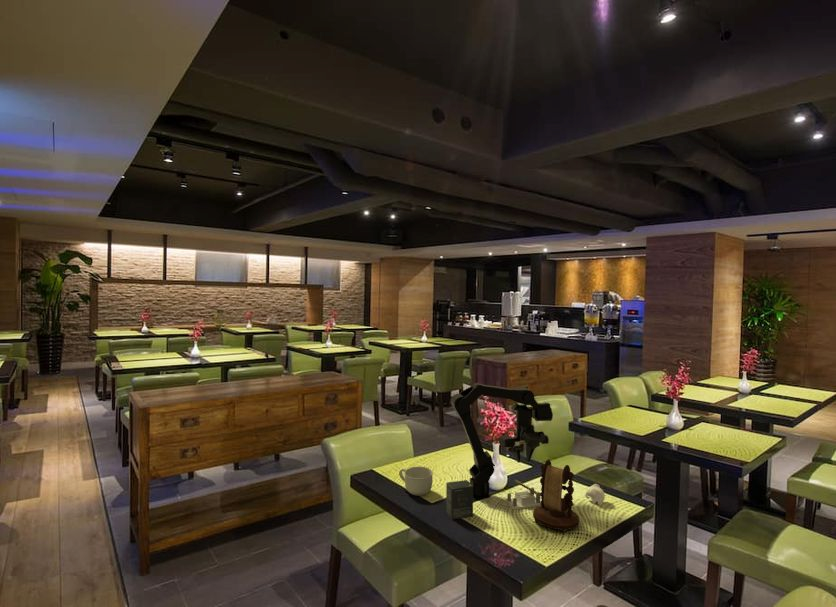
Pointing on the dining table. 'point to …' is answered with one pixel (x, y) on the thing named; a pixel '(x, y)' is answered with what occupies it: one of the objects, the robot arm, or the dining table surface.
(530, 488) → the strap
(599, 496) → the elephant figurine
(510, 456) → the dining table surface
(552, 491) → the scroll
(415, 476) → the teacup
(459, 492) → the box
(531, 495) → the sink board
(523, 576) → the dining table surface
